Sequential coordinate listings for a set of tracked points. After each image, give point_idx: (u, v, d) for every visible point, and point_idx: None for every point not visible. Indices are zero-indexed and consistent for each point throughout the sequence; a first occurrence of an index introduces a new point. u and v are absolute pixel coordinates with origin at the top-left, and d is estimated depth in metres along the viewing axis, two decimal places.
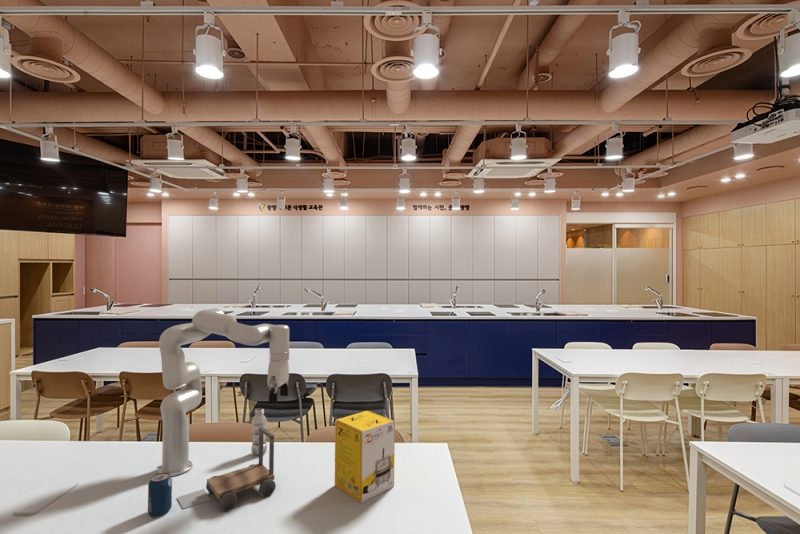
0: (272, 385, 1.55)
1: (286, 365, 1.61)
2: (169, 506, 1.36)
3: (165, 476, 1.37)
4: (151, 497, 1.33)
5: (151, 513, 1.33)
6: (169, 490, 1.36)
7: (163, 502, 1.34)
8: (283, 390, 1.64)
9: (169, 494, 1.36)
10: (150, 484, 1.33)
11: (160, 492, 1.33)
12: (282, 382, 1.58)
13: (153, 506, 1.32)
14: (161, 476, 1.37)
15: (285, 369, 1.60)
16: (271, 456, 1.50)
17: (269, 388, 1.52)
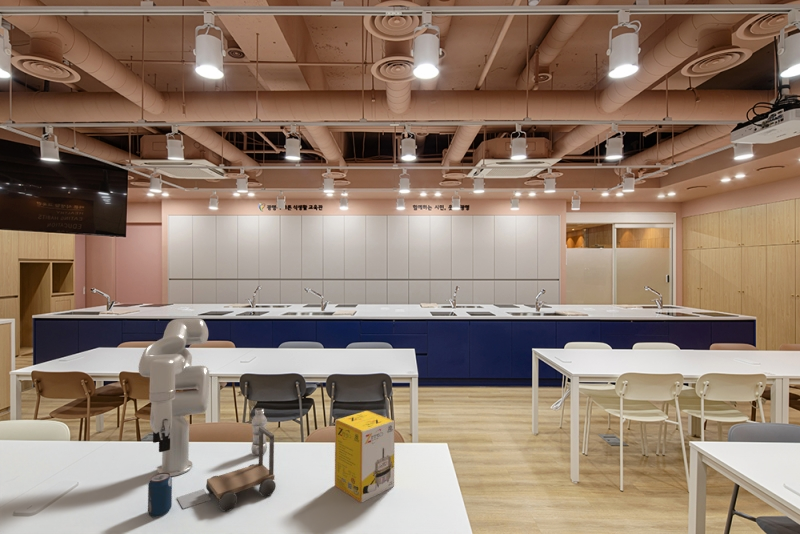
0: (162, 430, 1.33)
1: None
2: (169, 506, 1.36)
3: (165, 476, 1.37)
4: (151, 497, 1.33)
5: (151, 513, 1.33)
6: (169, 490, 1.36)
7: (163, 502, 1.34)
8: (158, 435, 1.40)
9: (169, 494, 1.36)
10: (150, 484, 1.33)
11: (160, 492, 1.33)
12: None
13: (153, 506, 1.32)
14: (161, 476, 1.37)
15: None
16: (271, 456, 1.50)
17: (166, 433, 1.31)
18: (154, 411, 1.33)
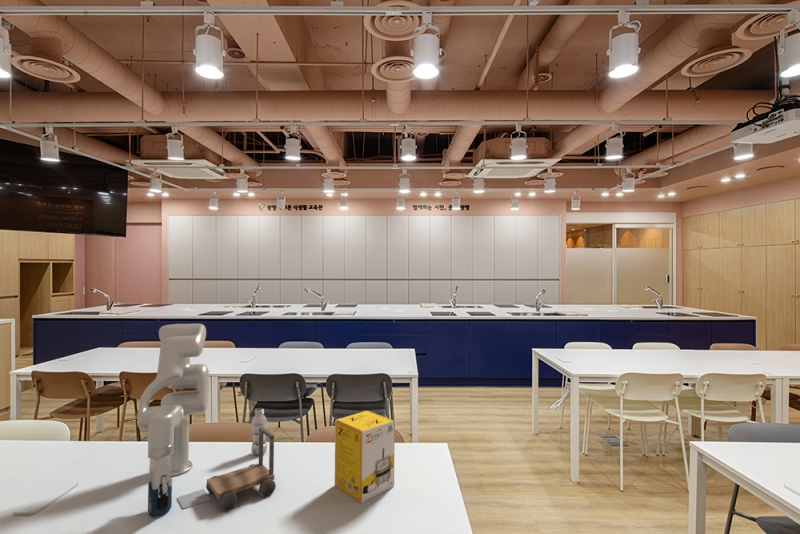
0: (160, 487, 1.33)
1: None
2: (169, 506, 1.36)
3: None
4: (151, 497, 1.33)
5: (151, 513, 1.33)
6: (169, 490, 1.36)
7: None
8: None
9: (169, 494, 1.36)
10: (150, 484, 1.33)
11: None
12: None
13: (153, 506, 1.32)
14: None
15: None
16: (271, 456, 1.50)
17: (164, 492, 1.31)
18: (153, 467, 1.33)
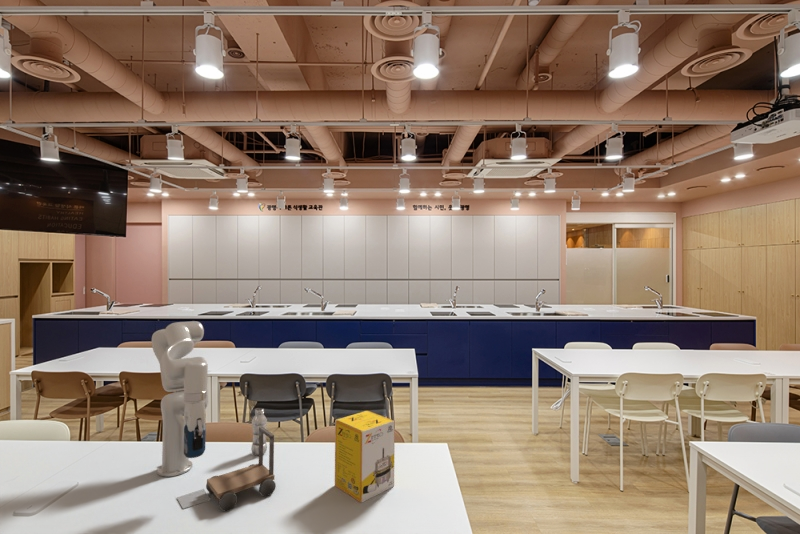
0: (196, 430, 1.41)
1: None
2: (203, 449, 1.44)
3: None
4: (187, 439, 1.41)
5: (187, 454, 1.41)
6: (203, 433, 1.44)
7: None
8: None
9: (203, 437, 1.44)
10: (186, 427, 1.42)
11: None
12: None
13: (189, 447, 1.41)
14: None
15: None
16: (271, 456, 1.50)
17: (200, 434, 1.39)
18: (189, 411, 1.41)
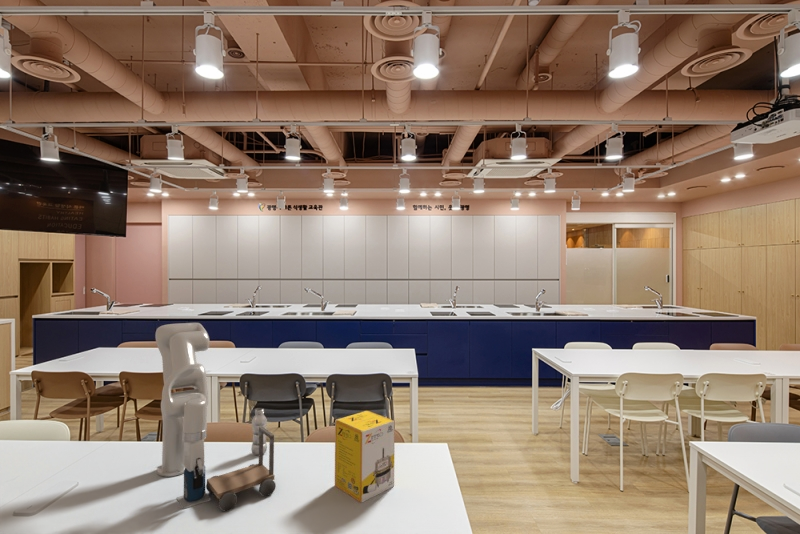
0: (196, 468, 1.41)
1: None
2: (203, 492, 1.44)
3: None
4: (187, 483, 1.41)
5: (187, 498, 1.41)
6: (203, 477, 1.44)
7: (198, 488, 1.42)
8: None
9: (203, 481, 1.44)
10: (186, 471, 1.42)
11: None
12: None
13: (189, 492, 1.41)
14: None
15: None
16: (271, 456, 1.50)
17: (200, 472, 1.38)
18: (188, 450, 1.41)
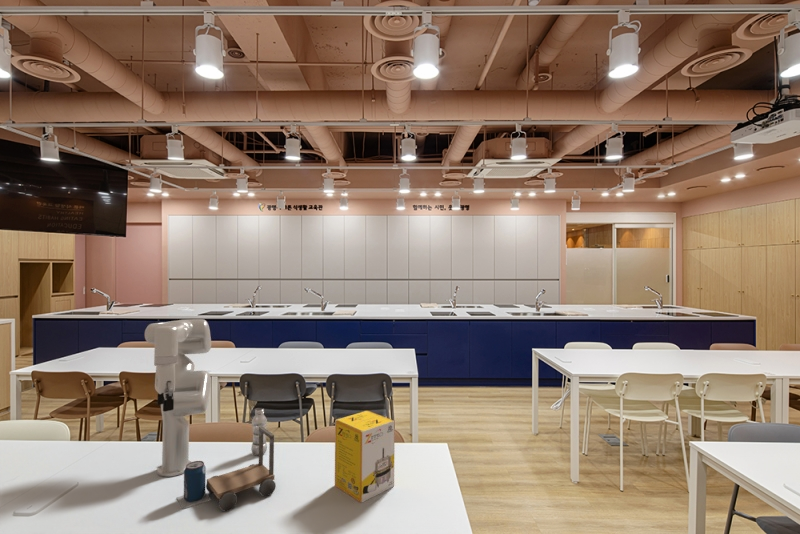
0: (166, 391, 1.43)
1: None
2: (203, 492, 1.44)
3: (199, 464, 1.45)
4: (187, 484, 1.41)
5: (187, 498, 1.41)
6: (203, 477, 1.44)
7: (198, 488, 1.42)
8: (162, 398, 1.49)
9: (203, 481, 1.44)
10: (186, 471, 1.42)
11: (195, 479, 1.41)
12: None
13: (189, 492, 1.41)
14: (195, 464, 1.45)
15: None
16: (271, 456, 1.50)
17: (170, 394, 1.40)
18: (159, 373, 1.43)
